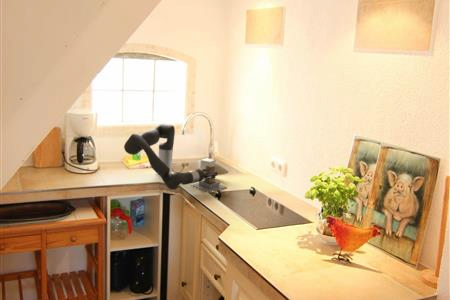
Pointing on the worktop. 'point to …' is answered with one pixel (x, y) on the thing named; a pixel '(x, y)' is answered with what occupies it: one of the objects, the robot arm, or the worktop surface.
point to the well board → (209, 186)
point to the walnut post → (210, 169)
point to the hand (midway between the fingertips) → (212, 172)
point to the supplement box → (206, 163)
